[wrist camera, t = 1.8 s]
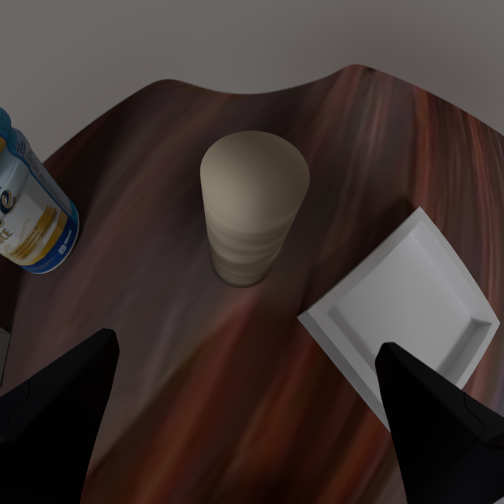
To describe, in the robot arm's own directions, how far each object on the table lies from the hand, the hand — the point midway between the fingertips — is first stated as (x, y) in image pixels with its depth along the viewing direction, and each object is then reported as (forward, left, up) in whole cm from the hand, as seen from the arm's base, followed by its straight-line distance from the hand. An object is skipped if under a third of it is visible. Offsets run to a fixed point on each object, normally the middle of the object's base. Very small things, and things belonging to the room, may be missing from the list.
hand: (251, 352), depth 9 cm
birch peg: (+5, +6, -13) cm, 15 cm away
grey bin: (+13, -8, -13) cm, 20 cm away
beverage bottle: (-9, +19, -14) cm, 25 cm away
